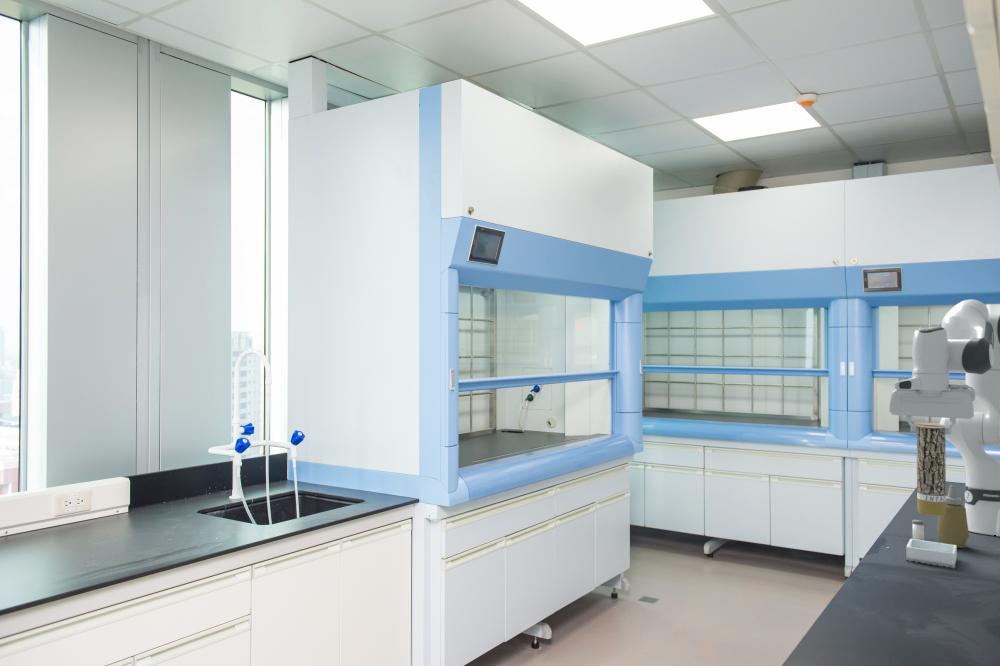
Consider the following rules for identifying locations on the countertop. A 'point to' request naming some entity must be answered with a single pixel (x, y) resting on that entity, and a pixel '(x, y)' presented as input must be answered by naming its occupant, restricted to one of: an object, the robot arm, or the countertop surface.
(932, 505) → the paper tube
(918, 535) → the sample vial
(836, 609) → the countertop surface
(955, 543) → the squeeze bottle
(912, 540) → the tray
